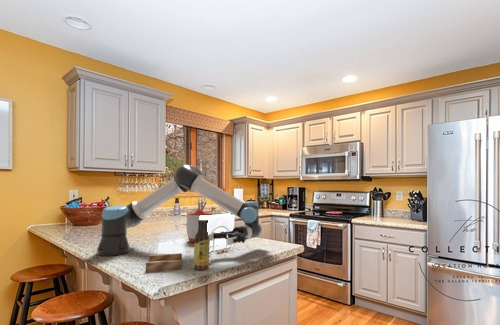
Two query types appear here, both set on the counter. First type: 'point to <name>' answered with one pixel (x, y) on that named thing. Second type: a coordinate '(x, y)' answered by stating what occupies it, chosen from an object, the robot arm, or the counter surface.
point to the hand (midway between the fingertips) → (215, 240)
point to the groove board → (164, 262)
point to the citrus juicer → (194, 223)
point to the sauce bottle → (201, 246)
